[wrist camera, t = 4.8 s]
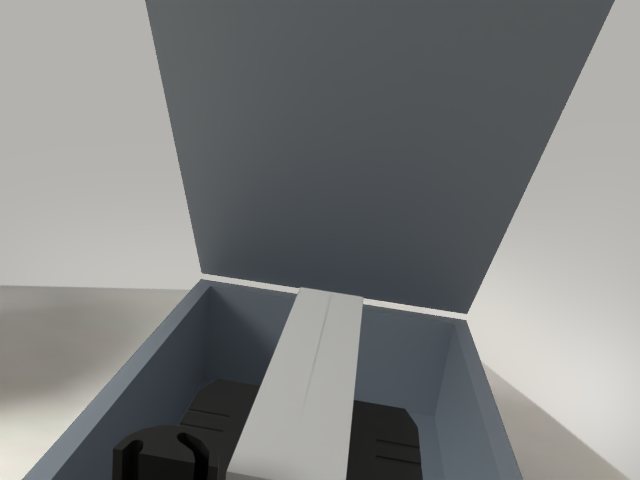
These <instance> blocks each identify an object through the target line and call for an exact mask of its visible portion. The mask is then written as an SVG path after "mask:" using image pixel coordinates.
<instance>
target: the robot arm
mask: <svg viewBox="0 0 640 480" xmlns="http://www.w3.org/2000/svg"><path fill="white" fill-rule="evenodd" d="M362 306H363V297H360V296H354V295H347V294H341V293H335V292H328V291H322V290H316V289H309V288H303V287H300V289H299V292H298V294H297V297H296V299H295V302H294V304H293V307H292V309H291V312H290V314H289V317H288V319H287V322H286V324H285V327H284V329H283V332H282V334H281V337H280V339H279V342H278V344H277V347H276V349H275V352H274V354H273V357H272V359H271V362H270V364H269V367H268V369H267V372H266V374H265V377H264V379H263V382H262V384H261V386H258V385H252V384H247V383H241V382H235V381H229V380H223V379H217V380H215V381H214V382H212V383H211V384H209V385H207V386H206V387H204V388H203V389H201V390H200V391H199V392H198V393H197V395H196V397H195V398H194V400H193V402H192V403H191V405H190V407H189V408H188V412H186V413H185V415H184V417H183V418H182V420H181V422H180V425H179V426H174V425H161V426H155V427H149V428H144V429H142V430H139V431H137V432H135V433H133V434H131V435H128V436H126V437H125V438H124V439H123V440H122V441H120V442H119V443H118V444H117V445H116V446H115V447H114V448H113V466H112V480H423V474H422V468H421V453H420V451H419V450H420V443H419V433H418V426H417V425H416V424H415V422H414V421H413V419H412V418H411V416H410V415H409V414H408V412H407V411H406V409H404V408H399V407H393V406H387V405H381V404H375V403H369V402H363V401H358V400H354V390H355V380H356V369H357V359H358V348H359V338H360V327H361V317H362Z"/></svg>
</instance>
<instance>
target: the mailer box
mask: <svg viewBox="0 0 640 480" xmlns="http://www.w3.org/2000/svg"><path fill="white" fill-rule="evenodd" d="M296 297H297V294H293V293H287V292H280V291H274V290H268V289H261V288H254V287H248V286H242V285H235V284H229V283H222V282H216V281H209V280H203V279H201V280H200V281H199V282H198V283H197V284H196V285H195V287H194V288H193V289H192V290H191V291H190V292H189V293H188V294H187V295H186V296H185V298H184V299H183V300H182V301H181V302H180V303H179V304H178V305H177V307H176V308H175V309H174V310H173V311H172V312H171V313H170V314H169V316H168V317H167V318H166V319H165V320H164V321H163V322H162V323H161V325H160V326H159V327H158V328H157V329H156V330H155V331H154V332H153V333H152V335H151V336H150V337H149V338H148V339H147V340H146V341H145V342H144V344H143V345H142V346H141V347H140V348H139V349H138V350H137V351H136V353H135V354H134V355H133V356H132V357H131V358H130V359H129V360H128V361H127V363H126V364H125V365H124V366H123V367H122V368H121V369H120V370H119V372H118V373H117V374H116V375H115V376H114V377H113V378H112V379H111V381H110V382H109V383H108V384H107V385H106V386H105V387H104V388H103V389H102V391H101V392H100V393H99V394H98V395H97V396H96V397H95V398H94V400H93V401H92V402H91V403H90V404H89V405H88V406H87V407H86V409H85V410H84V411H83V412H82V413H81V414H80V415H79V416H78V418H77V419H76V420H75V421H74V422H73V423H72V424H71V425H70V426H69V428H68V429H67V430H66V431H65V432H64V433H63V434H62V435H61V437H60V438H59V439H58V440H57V441H56V442H55V443H54V444H53V446H52V447H51V448H50V449H49V450H48V451H47V452H46V453H45V454H44V456H43V457H42V458H41V459H40V460H39V461H38V462H37V463H36V465H35V466H34V467H33V468H32V469H31V470H30V471H29V472H28V474H27V475H26V476H25V477H24V478H23V479H22V480H112V466H113V448H114V447H115V446H116V445H117V444H118V443H119V442H120V441H122V440H123V439H124V438H125V437H126V436H128V435H131V434H133V433H135V432H137V431H139V430H142V429H144V428H149V427H155V426H161V425H174V426H179V425H180V422H181V420H182V418H183V417H184V415H185V413H186V412H188V408H189V407H190V405H191V403H192V402H193V400H194V398H195V397H196V395H197V393H198V392H199V391H200V390H201V389H203V388H204V387H206V386H207V385H209V384H211V383H212V382H214V381H215V380H217V379H223V380H229V381H235V382H241V383H247V384H252V385H258V386H261V384H262V382H263V379H264V377H265V374H266V372H267V369H268V367H269V364H270V362H271V359H272V357H273V354H274V352H275V349H276V347H277V344H278V342H279V339H280V337H281V334H282V332H283V329H284V327H285V324H286V322H287V319H288V317H289V314H290V312H291V309H292V307H293V304H294V302H295V299H296ZM354 400H358V401H363V402H369V403H375V404H381V405H387V406H393V407H399V408H404V409H406V411H407V412H408V414H409V415H410V416H411V418H412V419H413V421H414V422H415V424H416V425H417V426H418V433H419V443H420V450H419V451H420V453H421V468H422V474H423V480H523V478H522V476H521V473H520V470H519V467H518V464H517V462H516V459H515V456H514V453H513V450H512V448H511V445H510V442H509V439H508V436H507V434H506V431H505V428H504V425H503V422H502V420H501V417H500V414H499V411H498V408H497V406H496V403H495V400H494V397H493V394H492V391H491V389H490V386H489V383H488V380H487V377H486V375H485V372H484V369H483V366H482V363H481V361H480V358H479V355H478V352H477V349H476V347H475V344H474V341H473V338H472V336H471V333H470V330H469V327H468V324H467V321H466V320H461V319H455V318H448V317H442V316H435V315H429V314H423V313H416V312H410V311H403V310H397V309H390V308H384V307H377V306H371V305H364V304H363V306H362V317H361V327H360V338H359V348H358V359H357V369H356V380H355V390H354Z"/></svg>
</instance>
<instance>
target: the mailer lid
mask: <svg viewBox="0 0 640 480" xmlns="http://www.w3.org/2000/svg"><path fill="white" fill-rule="evenodd" d="M145 1H146V6H147V11H148V16H149V21H150V26H151V30H152V35H153V40H154V45H155V50H156V55H157V59H158V64H159V69H160V74H161V79H162V83H163V88H164V93H165V98H166V103H167V108H168V112H169V117H170V122H171V127H172V132H173V137H174V141H175V146H176V150H177V156H178V161H179V165H180V170H181V175H182V180H183V185H184V190H185V195H186V199H187V204H188V209H189V214H190V218H191V223H192V228H193V233H194V238H195V243H196V247H197V252H198V257H199V262H200V267H201V272H202V273H204V274H211V275H217V276H224V277H230V278H238V279H244V280H250V281H256V282H263V283H270V284H276V285H283V286H289V287H295V288H300V287H303V288H309V289H316V290H322V291H328V292H335V293H341V294H347V295H354V296H360V297H363V298H366V299H373V300H379V301H386V302H392V303H399V304H405V305H412V306H418V307H425V308H431V309H438V310H444V311H451V312H457V313H464V314H467V313H468V311H469V309H470V307H471V305H472V302H473V300H474V298H475V296H476V294H477V292H478V290H479V288H480V285H481V283H482V281H483V279H484V277H485V275H486V273H487V271H488V268H489V266H490V264H491V262H492V260H493V258H494V256H495V254H496V251H497V249H498V247H499V245H500V243H501V241H502V239H503V237H504V234H505V232H506V230H507V228H508V226H509V224H510V222H511V220H512V217H513V215H514V213H515V211H516V209H517V207H518V205H519V203H520V201H521V198H522V196H523V194H524V192H525V190H526V188H527V185H528V183H529V181H530V179H531V177H532V175H533V173H534V171H535V169H536V167H537V164H538V162H539V160H540V158H541V156H542V154H543V152H544V150H545V147H546V145H547V143H548V141H549V139H550V137H551V135H552V133H553V130H554V128H555V126H556V124H557V122H558V120H559V118H560V115H561V113H562V111H563V109H564V107H565V105H566V103H567V101H568V99H569V96H570V94H571V92H572V90H573V88H574V86H575V84H576V81H577V79H578V77H579V75H580V73H581V71H582V69H583V67H584V65H585V62H586V60H587V58H588V56H589V54H590V51H591V50H592V47H593V45H594V43H595V41H596V39H597V37H598V35H599V32H600V30H601V28H602V26H603V24H604V22H605V20H606V18H607V16H608V14H609V11H610V9H611V7H612V5H613V3H614V1H615V0H145Z"/></svg>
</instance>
